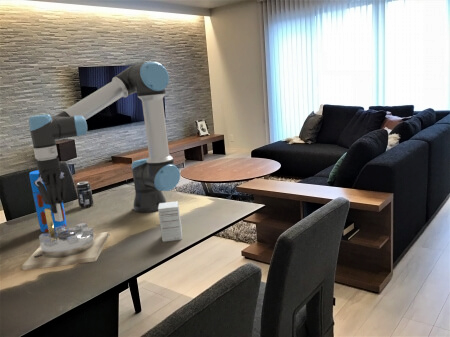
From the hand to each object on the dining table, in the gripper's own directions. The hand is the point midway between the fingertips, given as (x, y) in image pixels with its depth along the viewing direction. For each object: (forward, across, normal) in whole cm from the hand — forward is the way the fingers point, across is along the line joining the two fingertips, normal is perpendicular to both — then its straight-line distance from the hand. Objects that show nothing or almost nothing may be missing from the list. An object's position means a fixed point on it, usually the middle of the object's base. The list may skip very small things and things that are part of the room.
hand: (59, 220), depth 155 cm
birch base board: (+10, -3, -7) cm, 13 cm away
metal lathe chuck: (+8, -3, -7) cm, 11 cm away
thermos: (+10, +13, +23) cm, 28 cm away
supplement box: (+10, +20, -36) cm, 42 cm away
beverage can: (+11, +40, +34) cm, 54 cm away
